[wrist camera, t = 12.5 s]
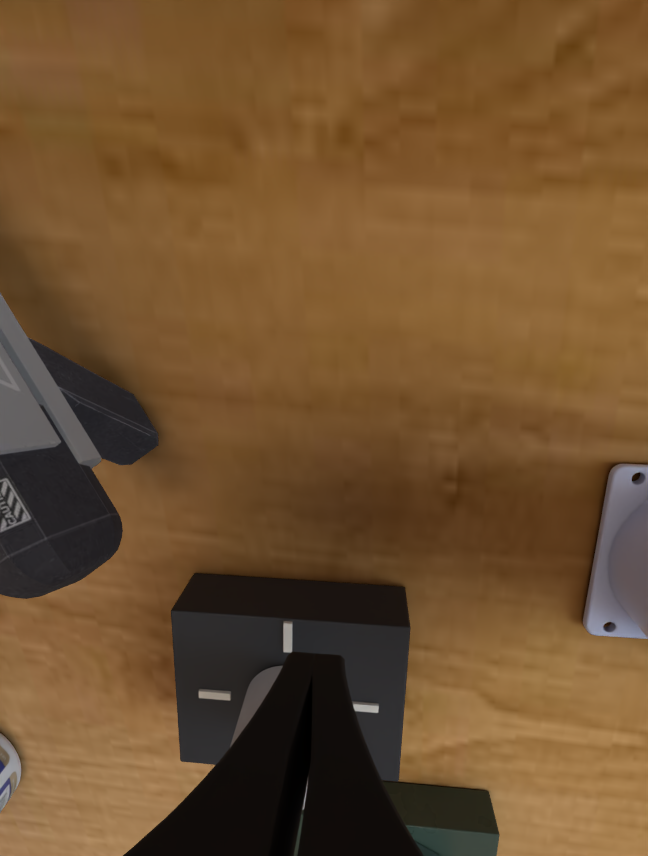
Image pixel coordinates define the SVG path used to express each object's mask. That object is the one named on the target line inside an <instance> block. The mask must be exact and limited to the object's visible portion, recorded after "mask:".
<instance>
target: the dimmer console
mask: <svg viewBox="0 0 648 856" xmlns="http://www.w3.org/2000/svg"><path fill="white" fill-rule="evenodd" d="M171 619H172V635H173V650H174V666H175V681H176V697H177V712H178V728H179V743H180V759H181V761H182V762H193V763H204V764H214V765H216V764H217V763H218V762H219V761H220V759H221V758H222V757H223V756H224V755H225V753H226V752H227V751H228V750H229V748H230V745H231V742H232V739H233V735H234V732H235V729H236V725H237V722H238V719H239V716H240V712H241V709H242V706H243V702H244V699H245V696H246V692H247V689H248V687H249V684H250V683H251V681H252V680H253V679H254V677H255V676H257V675H258V674H259V673H260V672H262V671H264V670H266V669H268V668H271V667H275V666H283V665H284V663H285V660H286V658H287V656H288V655H289V654H290V653H291V652H304V653H319V654H333V655H341V656H342V657H343V658H344V659H345V671H346V678H347V683H348V687H349V691H350V696H351V699H352V703H353V706H354V710H355V713H356V716H357V719H358V722H359V725H360V728H361V731H362V733H363V736H364V739H365V742H366V744H367V747H368V749H369V752H370V754H371V757H372V759H373V761H374V764H375V766H376V768H377V771H378V773H379V775H380V777H381V779H382V780H385V781H395V782H397V781H398V780H399V769H400V756H401V743H402V730H403V717H404V704H405V691H406V678H407V665H408V652H409V639H410V622H409V614H408V607H407V599H406V592H405V587H397V586H382V585H367V584H352V583H336V582H321V581H306V580H290V579H275V578H260V577H244V576H229V575H214V574H198V573H195V574H194V575H193V576H192V578H191V579H190V581H189V583H188V584H187V586H186V587H185V589H184V591H183V592H182V594H181V595H180V597H179V599H178V600H177V602H176V603H175V605H174V607H173V608H172V610H171Z"/></svg>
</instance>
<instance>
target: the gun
mask: <svg viewBox="0 0 648 856" xmlns="http://www.w3.org/2000/svg"><path fill="white" fill-rule="evenodd" d="M156 446H158V433H157V431H156V430H155V428H154V426H153V425H152V423H151V422H150V420H149V418H148V417H147V415H146V414H145V412H144V410H143V409H142V407H141V406H140V404H139V402H138V401H137V399H136V398H135V396H134V394H132V393H130V392H128V391H126V390H124V389H123V388H121V387H119V386H117V385H115V384H113V383H111V382H110V381H108V380H106V379H104V378H102V377H100V376H98V375H97V374H95V373H93V372H91V371H89V370H88V369H86V368H84V367H82V366H80V365H78V364H77V363H75V362H73V361H71V360H69V359H68V358H66V357H64V356H62V355H60V354H58V353H57V352H55V351H53V350H51V349H49V348H48V347H46V346H44V345H42V344H40V343H38V342H36V341H34V340H32V339H30V338H28V337H27V336H26V334H25V332H24V331H23V329H22V328H21V326H20V324H19V323H18V321H17V319H16V318H15V316H14V315H13V313H12V311H11V310H10V308H9V306H8V305H7V303H6V302H5V300H4V298H3V297H2V295H1V293H0V594H2V595H5V596H9V597H15V598H25V599H27V598H33V597H39V596H42V595H45V594H47V593H50V592H52V591H55V590H57V589H60V588H62V587H65V586H68V585H70V584H73V583H75V582H77V581H79V580H81V579H83V578H84V577H86V576H87V575H89V574H90V573H91V572H93V571H94V570H95V569H97V568H98V567H99V566H101V565H102V564H103V563H105V562H106V561H107V560H109V559H110V558H111V557H112V556H113V555H114V553H115V552H116V551H117V550H118V547H119V545H120V541H121V538H122V531H123V530H122V522H121V519H120V516H119V514H118V512H117V510H116V509H115V507H114V505H113V504H112V502H111V500H110V499H109V497H108V496H107V494H106V492H105V491H104V489H103V487H102V486H101V484H100V483H99V481H98V479H97V478H96V476H95V474H94V473H93V471H92V468H93V467H94V466H96V465H97V464H98V463H100V462H101V458H103V459H106V460H108V461H111V462H114V463H116V464H119V465H130V464H133V463H134V462H136V461H137V460H138V459H140V458H141V457H143V456H144V455H145V454H147V453H148V452H149V451H151V450H152V449H154V448H155V447H156Z"/></svg>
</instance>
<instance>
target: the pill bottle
mask: <svg viewBox="0 0 648 856" xmlns="http://www.w3.org/2000/svg"><path fill="white" fill-rule="evenodd" d="M20 777H21V763H20V759H19V756H18V754H17V752H16V750H15V748H14V747H13V745H12V744H11V743H10V742H9V740H8V739H7V738H6V737H5V736H3V735H2V734H1V733H0V812H1V810H2V809H3V808H4V806H5V805H6V803H7V802H8V801H9V799H10V798H11V796H12V795H13V793H14V791H15V790H16V788H17V786H18V784H19V781H20Z"/></svg>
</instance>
